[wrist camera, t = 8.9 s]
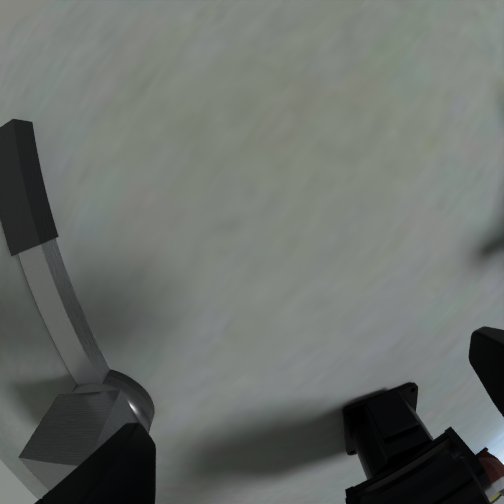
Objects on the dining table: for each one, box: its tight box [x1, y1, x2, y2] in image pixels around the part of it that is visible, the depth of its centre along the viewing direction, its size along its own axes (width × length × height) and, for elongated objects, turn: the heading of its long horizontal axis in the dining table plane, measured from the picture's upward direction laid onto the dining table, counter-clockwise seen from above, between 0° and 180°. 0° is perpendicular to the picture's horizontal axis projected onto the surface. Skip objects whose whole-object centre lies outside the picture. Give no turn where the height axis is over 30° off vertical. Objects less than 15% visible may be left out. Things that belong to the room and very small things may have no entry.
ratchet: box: [0, 119, 154, 434], centre depth 16 cm, size 24×6×6 cm, turn 14°
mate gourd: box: [475, 447, 504, 504], centre depth 19 cm, size 8×8×15 cm
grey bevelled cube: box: [19, 389, 156, 491], centre depth 15 cm, size 6×6×7 cm
